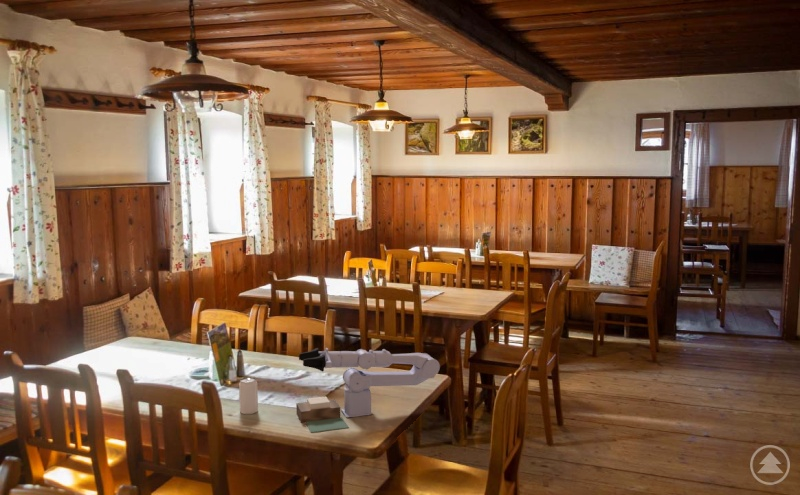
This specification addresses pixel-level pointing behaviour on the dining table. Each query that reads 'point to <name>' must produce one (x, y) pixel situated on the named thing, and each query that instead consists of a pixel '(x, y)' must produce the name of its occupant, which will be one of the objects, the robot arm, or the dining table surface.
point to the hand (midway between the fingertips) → (301, 359)
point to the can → (248, 396)
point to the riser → (317, 412)
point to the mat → (326, 425)
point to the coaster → (318, 403)
